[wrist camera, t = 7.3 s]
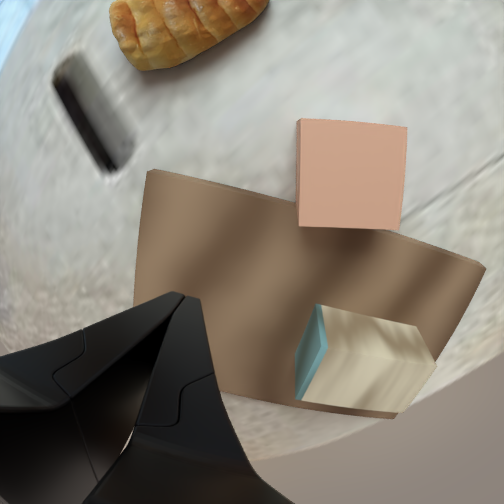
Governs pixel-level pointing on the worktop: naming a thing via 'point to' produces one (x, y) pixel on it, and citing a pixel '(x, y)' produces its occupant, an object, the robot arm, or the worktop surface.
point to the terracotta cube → (350, 174)
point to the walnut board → (286, 279)
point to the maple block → (360, 361)
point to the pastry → (176, 27)
